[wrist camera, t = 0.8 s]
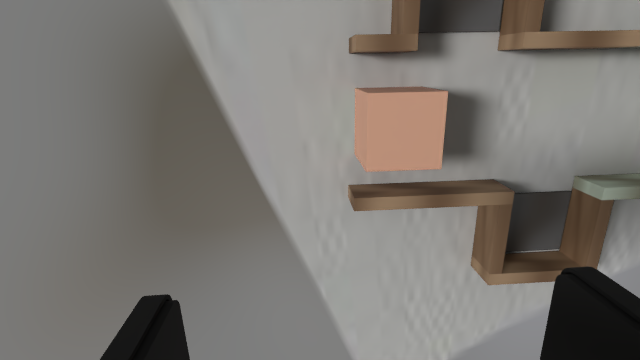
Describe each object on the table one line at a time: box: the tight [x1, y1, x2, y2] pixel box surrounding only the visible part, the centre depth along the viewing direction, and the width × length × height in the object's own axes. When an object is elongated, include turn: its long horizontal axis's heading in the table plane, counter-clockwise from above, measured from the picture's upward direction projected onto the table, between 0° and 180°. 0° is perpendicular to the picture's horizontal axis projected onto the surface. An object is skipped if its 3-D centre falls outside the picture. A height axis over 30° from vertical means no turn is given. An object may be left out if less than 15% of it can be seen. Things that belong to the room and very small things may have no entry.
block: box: [355, 87, 448, 172], centre depth 25 cm, size 5×5×5 cm
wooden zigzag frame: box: [348, 0, 640, 285], centre depth 26 cm, size 26×26×3 cm
